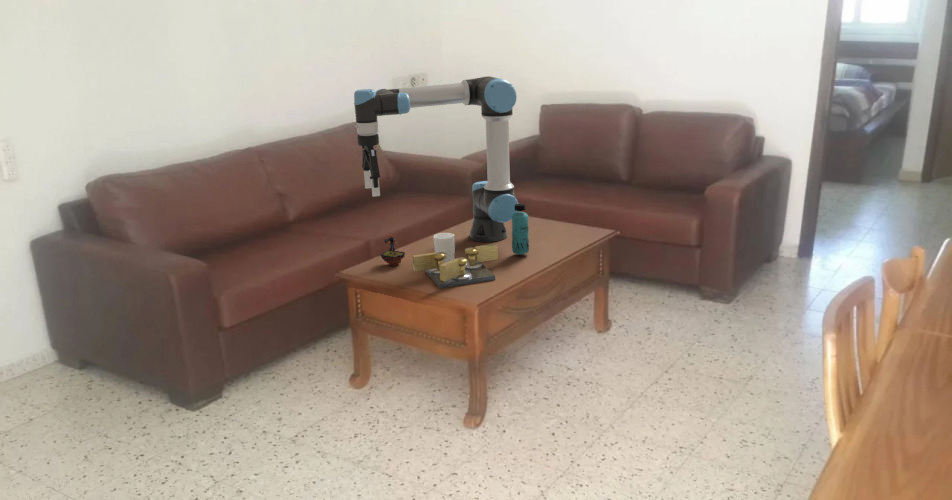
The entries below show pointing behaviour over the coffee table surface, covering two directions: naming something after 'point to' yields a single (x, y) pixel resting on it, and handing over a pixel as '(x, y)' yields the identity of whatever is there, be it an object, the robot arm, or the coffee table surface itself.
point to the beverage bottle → (520, 230)
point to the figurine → (392, 253)
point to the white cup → (445, 245)
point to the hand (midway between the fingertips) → (372, 192)
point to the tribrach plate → (471, 276)
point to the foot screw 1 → (428, 261)
